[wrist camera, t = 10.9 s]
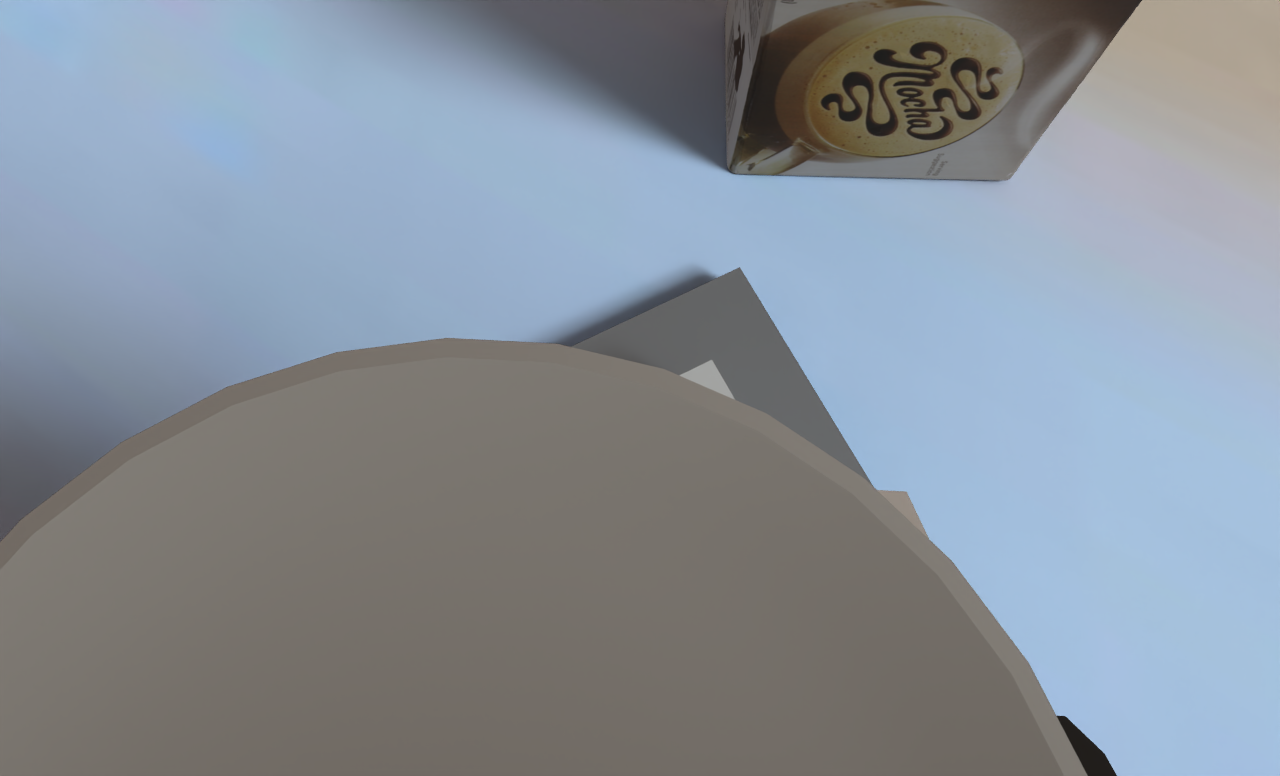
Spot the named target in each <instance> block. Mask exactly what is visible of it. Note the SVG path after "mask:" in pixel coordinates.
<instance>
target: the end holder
mask: <svg viewBox="0 0 1280 776" xmlns="http://www.w3.org/2000/svg"><path fill="white" fill-rule="evenodd" d="M571 347H573V348H577V349H581V350H586V351H590V352H594V353H598V354H603V355H607V356H611V357H615V358H619V359H624V360H628V361H632V362H636V363H641V364H645V365H649V366H653V367H658V368H662V369H665V370H668V371H670V372H672V373H674V374H677V375H679V376H681V377H684V378H686V379H688V380H691V381H693V382H695V383H697V384H700V385H702V386H704V387H707V388H709V389H711V390H714V391H716V392H718V393H720V394H723V395H725V396H727V397H730V398H732V399H734V400H737V401H739V402H741V403H743V404H746V405H748V406H750V407H753V408H755V409H757V410H760V411H762V412H764V413H766V414H768V415H770V416H771V417H773V418H774V419H776V420H777V421H779V422H780V423H782V424H783V425H785V426H786V427H788V428H789V429H791V430H792V431H794V432H795V433H797V434H798V435H800V436H801V437H803V438H804V439H806V440H807V441H809V442H810V443H812V444H814V445H815V446H817V447H818V448H820V449H821V450H823V451H824V452H826V453H827V454H829V455H830V456H832V457H833V458H835V459H836V460H838V461H839V462H841V463H842V464H844V465H845V466H847V467H848V468H850V469H851V470H853V471H854V472H856V473H857V474H859V475H860V476H862V477H863V478H864V479H866V480H867V481H868V482H869V483H870V484H871V482H870V480H869V479H868V477H867V475H866V474H865V472H864V471H863V469H862V467H861V466H860V464H859V462H858V461H857V459H856V457H855V456H854V454H853V452H852V451H851V449H850V448H849V446H848V444H847V443H846V441H845V439H844V438H843V436H842V434H841V433H840V431H839V430H838V428H837V426H836V425H835V423H834V421H833V420H832V418H831V416H830V415H829V413H828V411H827V410H826V408H825V407H824V405H823V403H822V402H821V400H820V398H819V397H818V395H817V393H816V392H815V390H814V388H813V387H812V385H811V384H810V382H809V380H808V379H807V377H806V375H805V374H804V372H803V370H802V369H801V367H800V366H799V364H798V362H797V361H796V359H795V357H794V356H793V354H792V352H791V351H790V349H789V347H788V346H787V344H786V343H785V341H784V339H783V338H782V336H781V334H780V333H779V331H778V329H777V328H776V326H775V324H774V323H773V321H772V320H771V318H770V316H769V315H768V313H767V311H766V310H765V308H764V306H763V305H762V303H761V301H760V300H759V298H758V297H757V295H756V293H755V292H754V290H753V288H752V287H751V285H750V283H749V282H748V280H747V279H746V277H745V275H744V274H743V272H742V270H741V269H740V268H737V269H735V270H733V271H731V272H729V273H727V274H725V275H722V276H720V277H718V278H716V279H714V280H712V281H710V282H708V283H705V284H703V285H701V286H699V287H697V288H695V289H693V290H691V291H688V292H686V293H684V294H682V295H680V296H678V297H676V298H673V299H671V300H669V301H667V302H665V303H663V304H661V305H659V306H656V307H654V308H652V309H650V310H648V311H646V312H644V313H641V314H639V315H637V316H635V317H633V318H631V319H629V320H627V321H624V322H622V323H620V324H618V325H616V326H614V327H612V328H610V329H607V330H605V331H603V332H601V333H599V334H597V335H595V336H592V337H590V338H588V339H586V340H584V341H582V342H580V343H578V344H575V345H573V346H571ZM871 485H872V484H871ZM872 486H873V485H872Z"/></svg>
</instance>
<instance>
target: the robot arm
mask: <svg viewBox="0 0 1280 776" xmlns="http://www.w3.org/2000/svg"><path fill="white" fill-rule="evenodd" d="M877 491H878V492H879V493H880V494H881V495H882V496H884V497H885V498H886V499H887V500H888V501H889V502H890V503H891V504H892V505H893V506H894V507H895V508H896V509H897V510H898V511H899V512H901V513H902V514H903V515H904V516H905V517H906V518H907V519H908V520H909V521H910V522H911V523H912V524H913V525H914V526H915V527H916V528H917V529H919V530H920V531H921V532H922V533H923V534H924V535H925V536H926V537H927V538H928V536H927V534H926V532H925V530H924V528H923V525H922V523H921V521H920V519H919V517H918V515H917V513H916V511H915V509H914V507H913V504H912V502H911V500H910V498H909V496H908V494H907V492H903V491H883V490H877ZM928 539H929V538H928ZM1057 718H1058V720H1059V722H1060V724H1061V726H1062V728H1063V730H1064V731H1065V733H1066V735H1067V737H1068V739H1069V741H1070V743H1071V745H1072V747H1073V749H1074V751H1075V753H1076V754H1077V756H1078V758H1079V760H1080V762H1081V764H1082V766H1083V768H1084V770H1085V772H1086V774H1087V775H1088V776H1117V775H1116V773H1115V772H1114V770H1113V768H1112V766H1111V765H1110V763H1109V761H1108V759H1107V757H1106V756H1105V754H1104V753H1103V752H1102V751H1101V750H1100V749H1099V748H1098V747H1097V746H1096V745H1095V744H1094V743H1093V742H1092V741H1091V740H1090V739H1089V738H1087V737H1086V736H1085V735H1084V734H1083V733H1082V732H1081V731H1080V730H1079V729H1078V728H1077V727H1076V726H1075V725H1074V724H1073V723H1072V722H1071V721H1070V720H1069V719H1068V718H1067V717H1066V716H1057Z"/></svg>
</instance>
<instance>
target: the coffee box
mask: <svg viewBox="0 0 1280 776" xmlns="http://www.w3.org/2000/svg"><path fill="white" fill-rule="evenodd" d="M1141 1H1142V0H728V3H727V9H726V15H725V83H726V145H727V167H728V169H729V170H730V171H731V172H732V173H735V174H754V175H789V176H831V177H874V178H920V179H961V180H1008V179H1010V178H1011V177H1012V176H1013V174H1014V173H1015V172H1016V171H1017V169H1018V168H1019V166H1020V165H1021V163H1022V162H1023V160H1024V159H1025V158H1026V156H1027V155H1028V154H1029V152H1030V151H1031V150H1032V148H1033V147H1034V146H1035V144H1036V143H1037V142H1038V140H1039V139H1040V137H1041V136H1042V134H1043V133H1044V132H1045V131H1046V129H1047V128H1048V126H1049V125H1050V124H1051V122H1052V121H1053V120H1054V118H1055V117H1056V116H1057V114H1058V113H1059V111H1060V110H1061V109H1062V108H1063V106H1064V105H1065V104H1066V103H1067V101H1068V100H1069V99H1070V98H1071V96H1072V94H1073V93H1074V92H1075V90H1076V89H1077V87H1078V86H1079V84H1080V83H1081V82H1082V81H1083V80H1084V78H1085V77H1086V75H1087V74H1088V73H1089V71H1090V70H1091V69H1092V67H1093V66H1094V64H1095V63H1096V62H1097V60H1098V59H1099V58H1100V56H1101V55H1102V54H1103V52H1104V51H1105V49H1106V48H1107V47H1108V45H1109V44H1110V43H1111V41H1112V40H1113V38H1114V37H1115V36H1116V34H1117V33H1118V31H1119V30H1120V28H1121V27H1122V26H1123V25H1124V23H1125V22H1126V21H1127V20H1128V18H1129V17H1130V16H1131V14H1132V13H1133V12H1134V10H1135V9H1136V7H1137V6H1138V5H1139V4H1140V2H1141Z"/></svg>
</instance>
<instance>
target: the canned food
mask: <svg viewBox="0 0 1280 776" xmlns="http://www.w3.org/2000/svg"><path fill="white" fill-rule="evenodd" d="M0 776H1088V775H1087V774H1086V772H1085V770H1084V768H1083V766H1082V764H1081V762H1080V760H1079V758H1078V756H1077V754H1076V753H1075V751H1074V749H1073V747H1072V745H1071V743H1070V741H1069V739H1068V737H1067V735H1066V733H1065V731H1064V730H1063V728H1062V726H1061V724H1060V722H1059V720H1058V718H1057V716H1056V714H1055V712H1054V710H1053V709H1052V707H1051V705H1050V703H1049V701H1048V699H1047V697H1046V695H1045V693H1044V691H1043V689H1042V688H1041V686H1040V684H1039V682H1038V680H1037V678H1036V676H1035V674H1034V672H1033V670H1032V668H1031V666H1030V665H1029V663H1028V661H1027V660H1026V659H1025V657H1024V656H1023V655H1022V653H1021V652H1020V651H1019V649H1018V648H1017V647H1016V645H1015V644H1014V643H1013V641H1012V640H1011V639H1010V637H1009V636H1008V635H1007V633H1006V632H1005V631H1004V629H1003V628H1002V627H1001V626H1000V624H999V623H998V622H997V620H996V619H995V618H994V616H993V615H992V614H991V612H990V611H989V610H988V608H987V607H986V606H985V604H984V603H983V602H982V600H981V599H980V598H979V596H978V595H977V594H976V592H975V591H974V590H973V588H972V587H971V586H970V584H969V583H968V582H967V580H966V579H965V578H964V576H963V575H962V574H961V573H960V571H959V570H958V569H957V567H956V566H955V565H954V563H953V562H952V561H951V560H950V559H949V558H948V557H947V556H946V555H945V554H944V553H943V552H942V551H941V550H940V549H939V548H938V547H937V546H935V545H934V544H933V543H932V542H931V541H930V540H929V539H928V538H927V537H926V536H925V535H924V534H923V533H922V532H921V531H920V530H919V529H917V528H916V527H915V526H914V525H913V524H912V523H911V522H910V521H909V520H908V519H907V518H906V517H905V516H904V515H903V514H902V513H901V512H899V511H898V510H897V509H896V508H895V507H894V506H893V505H892V504H891V503H890V502H889V501H888V500H887V499H886V498H885V497H884V496H882V495H881V494H880V493H879V492H878V491H877V490H876V489H875V488H874V487H873V486H872V485H871V484H870V483H869V482H868V481H867V480H866V479H864V478H863V477H862V476H860V475H859V474H857V473H856V472H854V471H853V470H851V469H850V468H848V467H847V466H845V465H844V464H842V463H841V462H839V461H838V460H836V459H835V458H833V457H832V456H830V455H829V454H827V453H826V452H824V451H823V450H821V449H820V448H818V447H817V446H815V445H814V444H812V443H810V442H809V441H807V440H806V439H804V438H803V437H801V436H800V435H798V434H797V433H795V432H794V431H792V430H791V429H789V428H788V427H786V426H785V425H783V424H782V423H780V422H779V421H777V420H776V419H774V418H773V417H771V416H770V415H768V414H766V413H764V412H762V411H760V410H757V409H755V408H753V407H750V406H748V405H746V404H743V403H741V402H739V401H737V400H734V399H732V398H730V397H727V396H725V395H723V394H720V393H718V392H716V391H714V390H711V389H709V388H707V387H704V386H702V385H700V384H697V383H695V382H693V381H691V380H688V379H686V378H684V377H681V376H679V375H677V374H674V373H672V372H670V371H668V370H665V369H662V368H658V367H653V366H649V365H645V364H641V363H636V362H632V361H628V360H624V359H619V358H615V357H611V356H607V355H603V354H598V353H594V352H590V351H586V350H581V349H577V348H573V347H569V346H564V345H560V344H552V343H533V342H514V341H494V340H475V339H455V338H444V339H436V340H428V341H420V342H413V343H405V344H397V345H389V346H382V347H374V348H366V349H359V350H351V351H343V352H336V353H333V354H330V355H326V356H323V357H320V358H317V359H314V360H311V361H308V362H304V363H301V364H298V365H295V366H292V367H289V368H285V369H282V370H279V371H276V372H273V373H270V374H267V375H263V376H260V377H257V378H254V379H251V380H248V381H245V382H241V383H238V384H235V385H232V386H229V387H226V388H224V389H222V390H220V391H219V392H217V393H215V394H213V395H211V396H209V397H207V398H205V399H203V400H201V401H199V402H198V403H196V404H194V405H192V406H190V407H188V408H186V409H184V410H182V411H180V412H178V413H177V414H175V415H173V416H171V417H169V418H167V419H165V420H163V421H161V422H159V423H157V424H156V425H154V426H152V427H150V428H148V429H146V430H144V431H142V432H140V433H138V434H137V435H135V436H133V437H131V438H129V439H127V440H125V441H123V442H121V443H120V444H119V445H117V446H116V447H115V448H113V449H112V450H111V451H110V452H108V453H107V454H106V455H104V456H103V457H102V458H100V459H99V460H98V461H97V462H95V463H94V464H93V465H91V466H90V467H89V468H87V469H86V470H85V471H84V472H82V473H81V474H80V475H78V476H77V477H76V478H74V479H73V480H72V481H70V482H69V483H68V484H67V485H65V486H64V487H63V488H61V489H60V490H59V491H57V492H56V493H55V494H54V495H52V496H51V497H50V498H48V499H47V500H46V501H44V502H43V503H42V504H41V505H39V506H38V507H37V508H35V509H34V510H33V511H31V512H30V513H29V514H28V515H26V516H25V517H24V518H22V519H21V520H20V521H19V522H18V523H17V525H16V526H15V527H14V528H13V529H12V530H11V531H10V532H9V533H8V534H7V535H6V536H5V538H4V539H3V540H2V541H1V542H0Z"/></svg>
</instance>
